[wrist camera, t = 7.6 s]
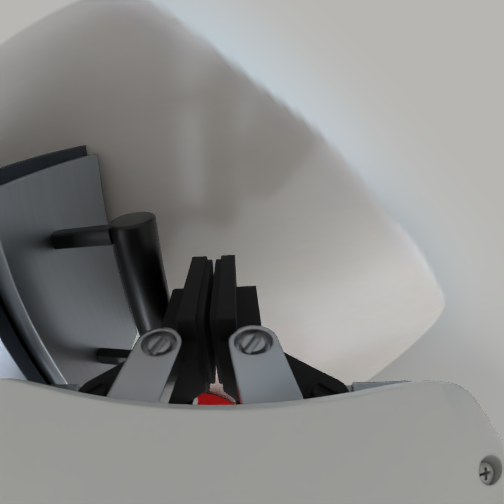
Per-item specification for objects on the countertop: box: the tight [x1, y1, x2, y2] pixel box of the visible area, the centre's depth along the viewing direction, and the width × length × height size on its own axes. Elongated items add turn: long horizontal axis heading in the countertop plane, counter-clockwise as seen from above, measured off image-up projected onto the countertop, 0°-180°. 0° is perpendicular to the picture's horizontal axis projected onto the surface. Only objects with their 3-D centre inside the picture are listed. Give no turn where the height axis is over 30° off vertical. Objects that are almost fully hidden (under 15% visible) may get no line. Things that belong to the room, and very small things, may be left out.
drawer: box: [0, 154, 170, 387], centre depth 10 cm, size 18×11×8 cm, turn 91°
